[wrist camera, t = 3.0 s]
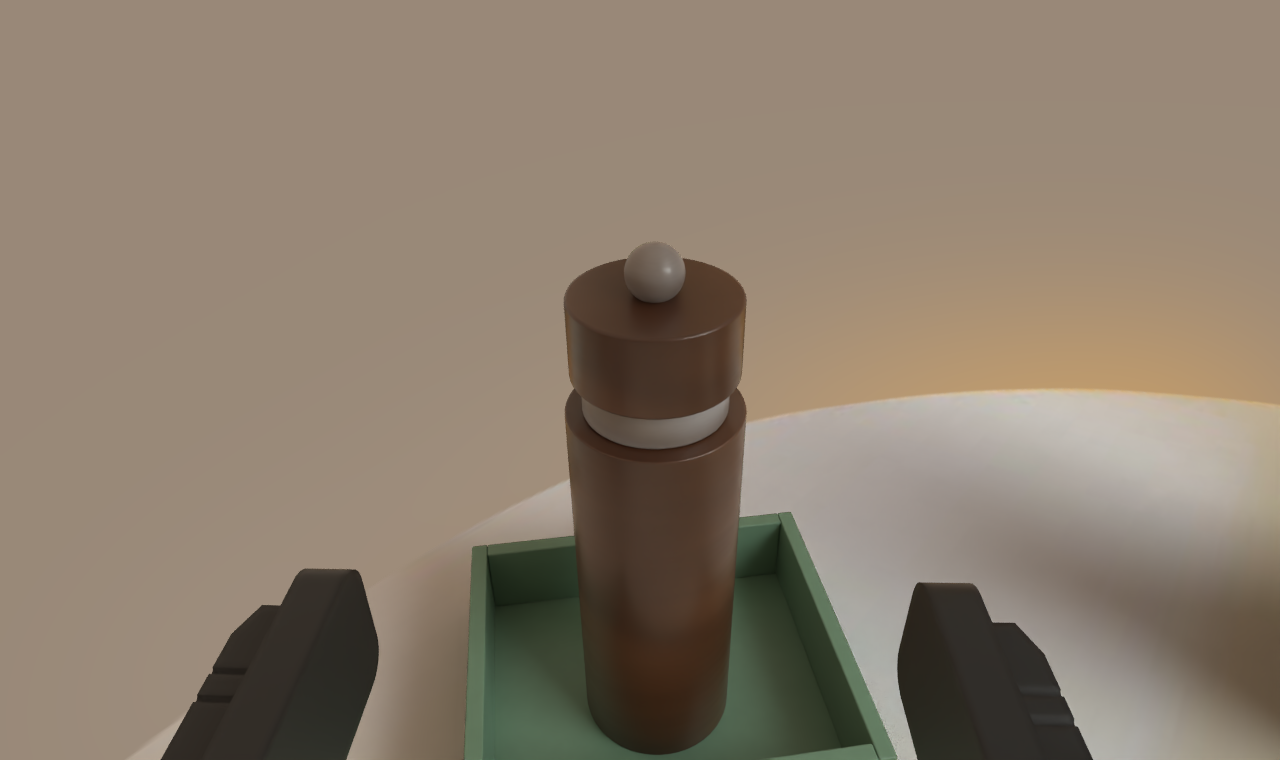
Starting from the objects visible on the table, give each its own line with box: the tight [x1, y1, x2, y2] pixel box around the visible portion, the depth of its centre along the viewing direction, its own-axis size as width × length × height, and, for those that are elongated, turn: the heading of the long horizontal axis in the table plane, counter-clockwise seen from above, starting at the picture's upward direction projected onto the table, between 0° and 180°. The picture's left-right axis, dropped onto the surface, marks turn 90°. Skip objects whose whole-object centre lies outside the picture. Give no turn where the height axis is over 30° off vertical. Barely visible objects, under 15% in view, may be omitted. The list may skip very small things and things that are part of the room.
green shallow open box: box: [464, 512, 897, 760], centre depth 30 cm, size 13×11×4 cm
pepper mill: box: [564, 242, 746, 755], centre depth 26 cm, size 5×5×18 cm
